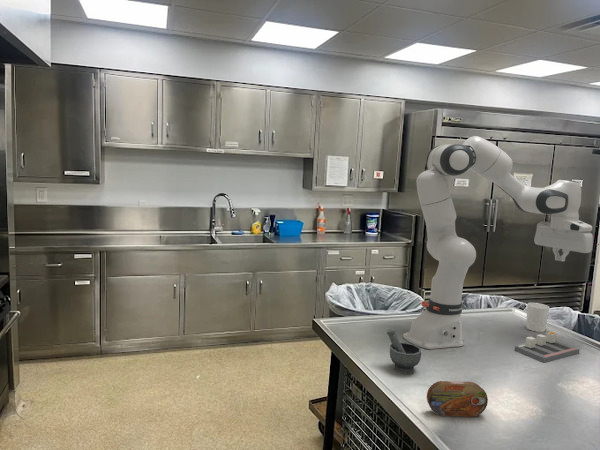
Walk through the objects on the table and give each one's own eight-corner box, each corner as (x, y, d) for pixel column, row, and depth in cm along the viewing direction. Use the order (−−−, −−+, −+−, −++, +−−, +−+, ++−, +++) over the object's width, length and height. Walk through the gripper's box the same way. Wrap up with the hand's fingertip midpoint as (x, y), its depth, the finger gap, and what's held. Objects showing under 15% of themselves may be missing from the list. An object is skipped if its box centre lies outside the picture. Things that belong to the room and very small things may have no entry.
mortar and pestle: (423, 368, 142) (426, 331, 140) (415, 379, 134) (418, 340, 132) (389, 359, 148) (392, 324, 146) (379, 369, 140) (382, 332, 138)
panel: (544, 362, 150) (544, 358, 150) (514, 350, 160) (515, 346, 160) (578, 353, 160) (579, 348, 160) (549, 342, 169) (549, 338, 169)
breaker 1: (530, 348, 157) (531, 339, 157) (525, 346, 159) (526, 337, 159) (534, 347, 159) (535, 338, 158) (529, 345, 160) (530, 336, 160)
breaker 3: (551, 343, 163) (552, 333, 163) (546, 341, 165) (547, 332, 164) (555, 342, 164) (556, 333, 164) (550, 340, 166) (551, 331, 166)
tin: (427, 415, 114) (430, 384, 113) (424, 409, 117) (426, 378, 116) (486, 418, 114) (490, 386, 113) (481, 411, 117) (484, 380, 116)
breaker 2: (541, 345, 160) (542, 337, 160) (535, 343, 162) (536, 335, 162) (545, 344, 161) (546, 336, 161) (540, 342, 163) (541, 334, 163)
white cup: (541, 326, 187) (544, 303, 186) (550, 333, 179) (552, 309, 178) (521, 325, 188) (524, 302, 187) (529, 331, 180) (532, 307, 179)
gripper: (532, 220, 174) (528, 255, 176) (587, 227, 156) (582, 266, 158) (542, 220, 177) (539, 255, 179) (597, 227, 159) (592, 265, 161)
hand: (559, 260), depth 168 cm, fingers closed
